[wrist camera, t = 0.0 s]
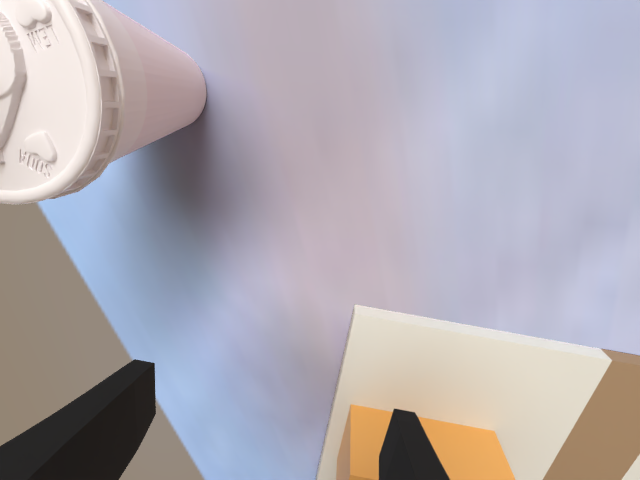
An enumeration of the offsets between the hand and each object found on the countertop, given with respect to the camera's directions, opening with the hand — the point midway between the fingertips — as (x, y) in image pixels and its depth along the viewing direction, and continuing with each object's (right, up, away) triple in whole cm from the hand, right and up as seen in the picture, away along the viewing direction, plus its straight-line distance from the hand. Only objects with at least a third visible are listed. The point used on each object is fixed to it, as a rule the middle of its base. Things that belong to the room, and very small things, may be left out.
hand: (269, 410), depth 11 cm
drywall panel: (+13, -9, +13) cm, 21 cm away
